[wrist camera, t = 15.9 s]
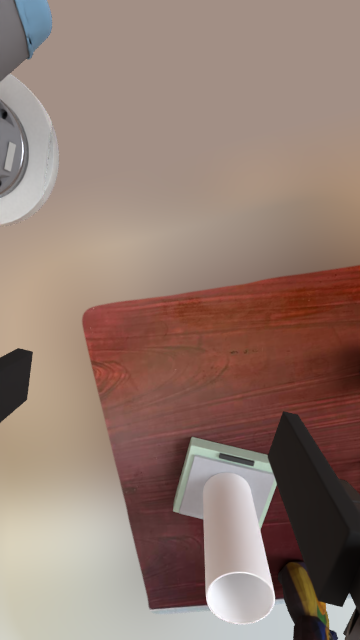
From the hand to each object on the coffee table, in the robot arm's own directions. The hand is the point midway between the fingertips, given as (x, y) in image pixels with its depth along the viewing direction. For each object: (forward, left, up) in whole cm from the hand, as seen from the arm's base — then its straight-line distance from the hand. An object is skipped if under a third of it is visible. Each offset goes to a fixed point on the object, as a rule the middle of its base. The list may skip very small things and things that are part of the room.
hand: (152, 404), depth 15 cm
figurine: (+33, -46, -33) cm, 65 cm away
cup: (+15, -30, -30) cm, 45 cm away
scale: (+15, -30, -33) cm, 47 cm away
